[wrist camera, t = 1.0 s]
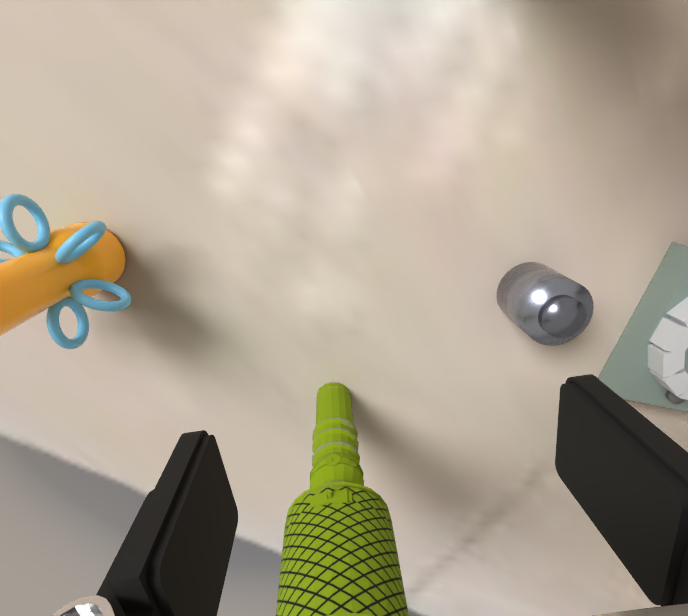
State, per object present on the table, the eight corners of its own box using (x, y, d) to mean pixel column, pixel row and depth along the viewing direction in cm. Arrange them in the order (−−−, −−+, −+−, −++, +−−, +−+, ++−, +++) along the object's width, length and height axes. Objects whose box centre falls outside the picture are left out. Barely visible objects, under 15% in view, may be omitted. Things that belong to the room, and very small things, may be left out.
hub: (510, 255, 39) (547, 277, 33) (566, 269, 40) (613, 293, 33) (487, 311, 41) (518, 343, 35) (541, 324, 42) (580, 356, 36)
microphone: (372, 420, 45) (422, 706, 22) (305, 430, 45) (285, 725, 22) (363, 357, 42) (410, 612, 19) (291, 368, 42) (252, 634, 19)
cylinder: (170, 307, 39) (86, 394, 25) (64, 323, 40) (-77, 419, 26) (126, 176, 35) (-5, 196, 21) (8, 195, 35) (-201, 227, 21)
